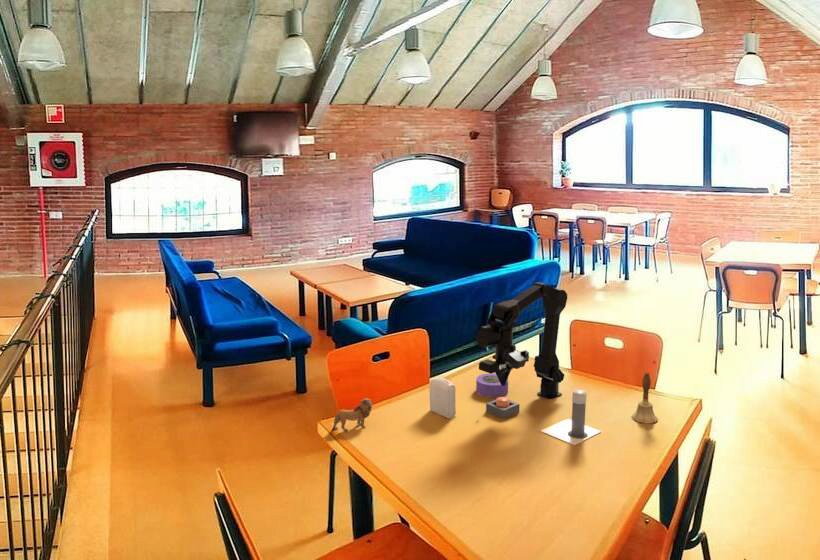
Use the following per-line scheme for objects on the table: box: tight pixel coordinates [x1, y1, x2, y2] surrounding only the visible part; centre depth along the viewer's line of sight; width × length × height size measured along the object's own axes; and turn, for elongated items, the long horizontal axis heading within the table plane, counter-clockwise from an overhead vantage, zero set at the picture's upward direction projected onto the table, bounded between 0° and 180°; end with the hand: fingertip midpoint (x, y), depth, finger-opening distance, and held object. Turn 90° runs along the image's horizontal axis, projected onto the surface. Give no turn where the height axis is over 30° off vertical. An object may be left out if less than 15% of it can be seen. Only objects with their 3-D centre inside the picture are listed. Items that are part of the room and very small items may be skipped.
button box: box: [485, 399, 520, 420], centre depth 229 cm, size 8×8×3 cm
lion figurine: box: [330, 398, 373, 433], centre depth 217 cm, size 15×5×9 cm, turn 119°
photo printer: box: [429, 377, 457, 419], centre depth 227 cm, size 10×4×12 cm, turn 39°
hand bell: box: [631, 372, 659, 424], centre depth 220 cm, size 8×8×16 cm
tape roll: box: [475, 373, 509, 398], centre depth 247 cm, size 12×12×5 cm
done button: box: [495, 396, 511, 408], centre depth 228 cm, size 5×5×4 cm
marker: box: [571, 389, 588, 437], centre depth 209 cm, size 4×4×14 cm
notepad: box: [540, 418, 602, 446], centre depth 213 cm, size 14×13×1 cm
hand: (503, 385), depth 227 cm, fingers closed
